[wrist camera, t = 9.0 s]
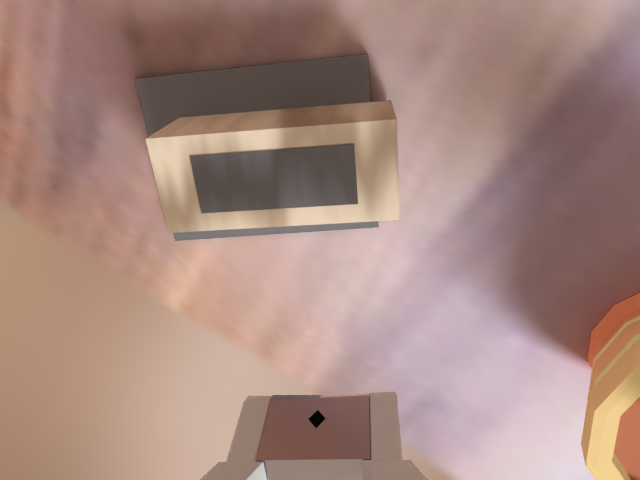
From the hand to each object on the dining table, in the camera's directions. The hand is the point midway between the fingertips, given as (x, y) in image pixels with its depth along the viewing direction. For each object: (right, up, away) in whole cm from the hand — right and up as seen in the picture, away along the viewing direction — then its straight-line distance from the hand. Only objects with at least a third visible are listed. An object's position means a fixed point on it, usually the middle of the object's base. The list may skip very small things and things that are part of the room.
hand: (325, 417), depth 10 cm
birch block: (+4, +8, +16) cm, 18 cm away
